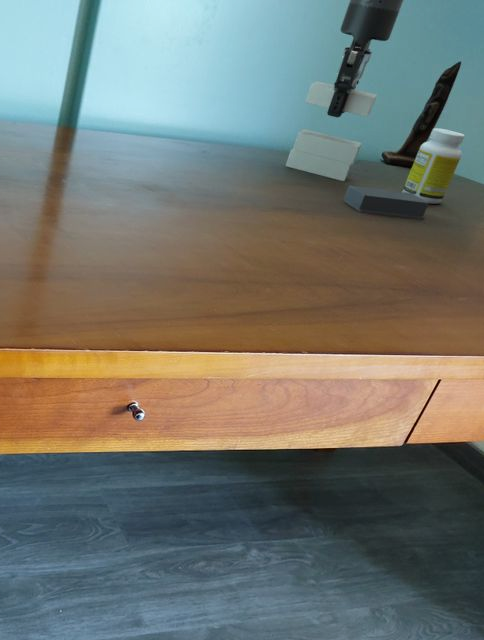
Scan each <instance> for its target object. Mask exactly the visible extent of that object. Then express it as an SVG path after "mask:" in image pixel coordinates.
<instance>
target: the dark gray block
mask: <svg viewBox="0 0 484 640" xmlns="http://www.w3.org/2000/svg"><path fill="white" fill-rule="evenodd" d="M343 199H344V203H346V204H347V205H348V206H350V207H352V208H353V209H355V210H357V211H358V212H360V213H367V214H375V215H381V216H382V215H383V216H384V215H385V216H390V217H391V216H392V217H400V218H401V217H402V218H408V219H416V220H425V219H426V218H425V217H426V216H425V214H426V211H427V209H428V206H429V203H428V202H426V201H424V200H423V199H421V198H419V197H417V196H415V195H414V194H412V193H406V192H402V191H398V190H389V189H381V188H373V187H364V186H357V185H348V187H347V190H346V192H345V195H344V197H343Z"/></svg>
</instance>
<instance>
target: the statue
mask: <svg viewBox="0 0 484 640" xmlns="http://www.w3.org/2000/svg"><path fill="white" fill-rule="evenodd" d="M461 65H462V61H461V60H460V61H457V62H456V63H454V64H453V65H452V66H450V67H448V68H446V69H445V70H444V71H443V72H442V74H440V76H439V78H438V79H437V80H436V82H435V85H434V87H433V90H432V93H431V95H430V97H429V98H428V100H427V101H426V103H425V104H424V107H423V109H422V111H421V113H420V114H419V115H418V117H417V119H416V120H415V122H414V124H413V126H412V128H411V130H410V133H409V135H408V136H407V138H406V140H405V141H404V142H403V145H402V146H401V147H400V148H399V149H397V150H396V151H389V150H387V151H386V150H385V151H382V153H381V157H382V160H384V162H385V163H387V164H390V165H394V166H400V167H408V168H412V166H413V164H414V161H415V159H416V156H417V154H418V151H419V149H420V147H421V145H422V144H423V143H425V142H428V140H429V139H430V135H431V132H432V130H433V129H434V128H436V125H437V123H438V122H439V119H440V117H441V115H442V114H443V111H444V109H445V107H446V104H447V102H448V101H449V98H450V94H451V92H452V89H453V87H454V85H455V82H456V81H457V80H456V79H457V77H458V74H459V72H460V69H461Z"/></svg>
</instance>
